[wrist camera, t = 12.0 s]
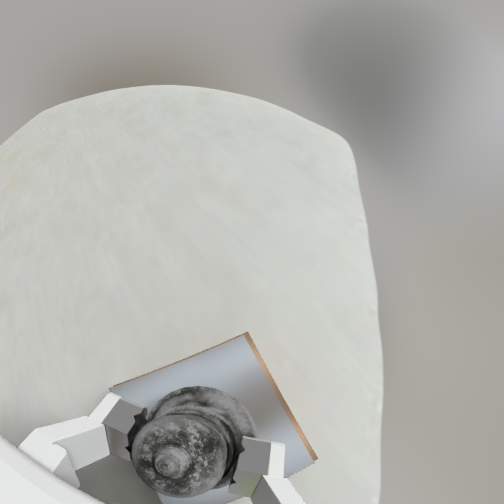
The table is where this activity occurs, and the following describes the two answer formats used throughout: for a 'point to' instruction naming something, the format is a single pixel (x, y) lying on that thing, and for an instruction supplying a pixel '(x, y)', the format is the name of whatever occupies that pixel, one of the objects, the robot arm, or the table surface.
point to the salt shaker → (191, 441)
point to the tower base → (238, 386)
